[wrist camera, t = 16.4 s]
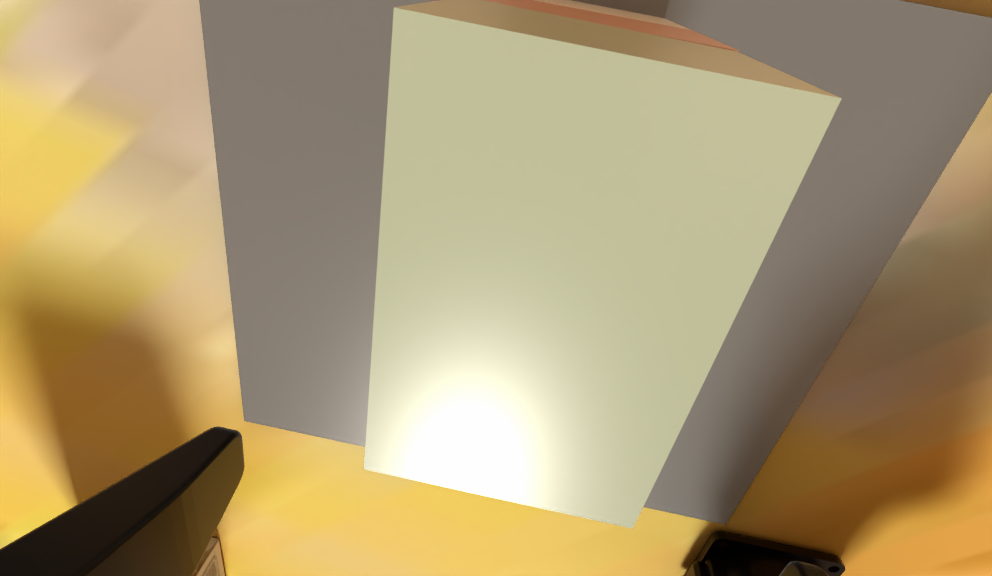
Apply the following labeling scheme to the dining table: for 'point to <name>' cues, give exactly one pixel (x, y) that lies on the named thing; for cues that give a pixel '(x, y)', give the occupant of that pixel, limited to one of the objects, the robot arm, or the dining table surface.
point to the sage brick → (565, 246)
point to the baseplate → (358, 191)
